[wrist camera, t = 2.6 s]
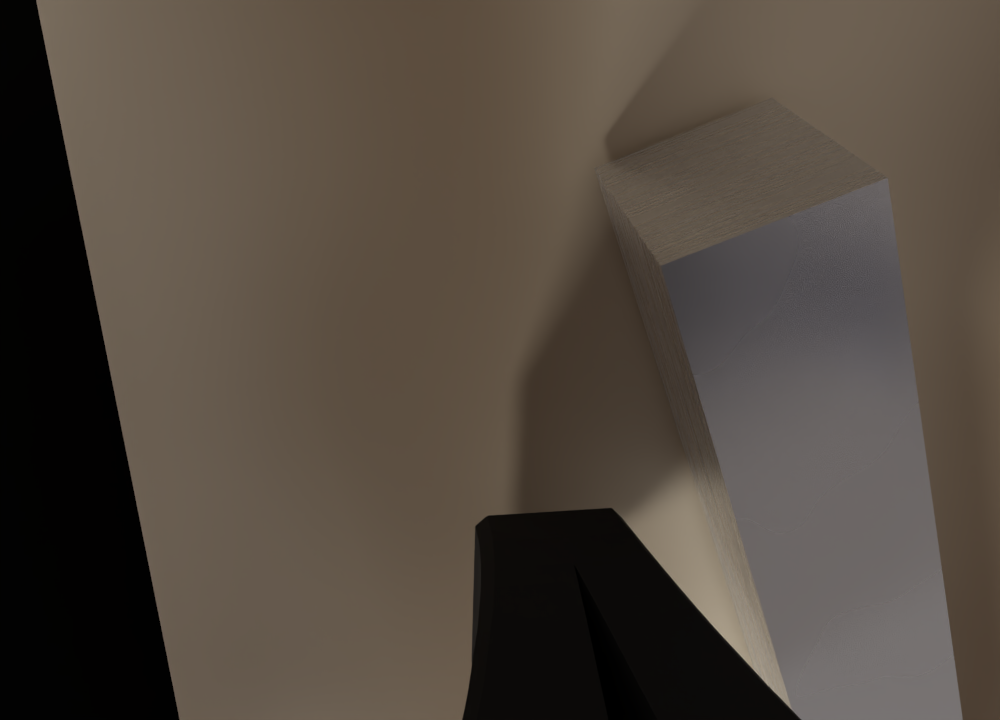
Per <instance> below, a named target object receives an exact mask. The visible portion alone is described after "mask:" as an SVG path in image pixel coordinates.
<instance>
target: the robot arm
mask: <svg viewBox="0 0 1000 720" xmlns="http://www.w3.org/2000/svg"><path fill="white" fill-rule="evenodd" d="M462 720H801V719H800V718H799V717H798V716H797V715H796V714H795V713H794V712H793V711H792V710H791V709H790V708H789V706H788V705H787V704H786V703H785V702H784V701H783V700H782V699H781V698H780V697H779V696H778V695H777V694H776V693H775V692H774V691H773V690H772V689H771V688H770V687H769V686H768V685H767V684H766V683H765V682H764V681H763V680H762V678H761V677H760V676H759V675H758V674H757V673H756V672H755V671H754V670H753V669H752V668H751V667H750V666H749V664H748V663H747V662H746V661H745V660H744V659H743V658H742V657H741V656H740V655H739V654H738V653H737V652H736V650H735V649H734V648H733V647H732V646H731V645H730V644H729V643H728V642H727V641H726V640H725V639H724V638H723V636H722V635H721V634H720V633H719V632H718V631H717V630H716V629H715V628H714V627H713V625H712V624H711V623H710V622H709V621H708V620H707V619H706V617H705V616H704V615H703V614H702V613H701V612H700V611H699V610H698V608H697V607H696V606H695V605H694V604H693V603H692V601H691V600H690V599H689V598H688V597H687V596H686V594H685V593H684V592H683V591H682V590H681V589H680V587H679V586H678V585H677V584H676V583H675V582H674V580H673V579H672V578H671V577H670V576H669V575H668V573H667V572H666V571H665V570H664V569H663V567H662V566H661V565H660V564H659V563H658V561H657V560H656V559H655V558H654V556H653V555H652V554H651V553H650V552H649V550H648V549H647V548H646V547H645V546H644V544H643V543H642V542H641V541H640V539H639V538H638V537H637V536H636V534H635V533H634V532H633V531H632V529H631V528H630V527H629V526H628V525H627V523H626V522H625V521H624V520H623V518H622V517H621V516H620V515H619V514H618V513H617V512H616V511H615V510H613V509H612V508H600V509H584V510H568V511H553V512H537V513H521V514H505V515H489V516H486V517H485V518H484V519H483V520H482V521H480V522H479V523H478V524H477V525H476V526H475V550H474V587H473V623H472V668H471V674H470V681H469V688H468V694H467V699H466V704H465V709H464V714H463V718H462Z"/></svg>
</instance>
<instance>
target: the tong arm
mask: <svg viewBox="0 0 1000 720" xmlns="http://www.w3.org/2000/svg"><path fill="white" fill-rule="evenodd" d="M594 169H595V172H596V175H597V178H598V181H599V185H600V188H601V191H602V194H603V197H604V200H605V203H606V206H607V210H608V213H609V216H610V219H611V222H612V225H613V228H614V232H615V235H616V238H617V241H618V244H619V247H620V250H621V254H622V257H623V260H624V263H625V266H626V269H627V272H628V276H629V279H630V282H631V285H632V288H633V291H634V294H635V297H636V301H637V304H638V307H639V310H640V313H641V316H642V319H643V323H644V326H645V329H646V332H647V335H648V338H649V341H650V345H651V348H652V351H653V354H654V357H655V360H656V363H657V367H658V370H659V373H660V376H661V379H662V382H663V385H664V388H665V392H666V395H667V398H668V401H669V404H670V407H671V410H672V414H673V417H674V420H675V423H676V426H677V429H678V432H679V436H680V439H681V442H682V445H683V448H684V451H685V454H686V458H687V461H688V464H689V467H690V470H691V473H692V476H693V479H694V483H695V486H696V489H697V492H698V495H699V498H700V501H701V505H702V508H703V511H704V514H705V517H706V520H707V523H708V527H709V530H710V533H711V536H712V539H713V542H714V545H715V549H716V552H717V555H718V558H719V561H720V564H721V567H722V570H723V574H724V577H725V580H726V583H727V586H728V589H729V592H730V596H731V599H732V602H733V605H734V608H735V611H736V614H737V618H738V621H739V624H740V627H741V630H742V633H743V636H744V640H745V643H746V646H747V649H748V652H749V655H750V658H751V661H752V665H753V668H754V671H755V672H756V673H757V674H758V675H759V676H760V677H761V678H762V680H763V681H764V682H765V683H766V684H767V685H768V686H769V687H770V688H771V689H772V690H773V691H774V692H775V693H776V694H777V695H778V696H779V697H780V698H781V699H782V700H783V701H784V702H785V703H786V704H787V705H788V706H789V708H790V709H791V710H792V711H793V712H794V713H795V714H796V715H797V716H798V717H799V718H800V719H801V720H963V718H962V711H961V704H960V696H959V689H958V682H957V675H956V668H955V660H954V653H953V646H952V639H951V631H950V624H949V617H948V610H947V603H946V595H945V588H944V581H943V574H942V566H941V559H940V552H939V545H938V538H937V530H936V523H935V516H934V509H933V501H932V494H931V487H930V480H929V473H928V465H927V458H926V451H925V444H924V436H923V429H922V422H921V415H920V408H919V400H918V393H917V386H916V379H915V371H914V364H913V357H912V350H911V343H910V335H909V328H908V321H907V314H906V306H905V299H904V292H903V285H902V278H901V270H900V263H899V256H898V249H897V241H896V234H895V227H894V220H893V213H892V205H891V198H890V191H889V184H888V178H887V177H886V176H884V175H883V174H881V173H880V172H879V171H877V170H876V169H874V168H873V167H871V166H870V165H868V164H867V163H865V162H864V161H863V160H861V159H860V158H858V157H857V156H855V155H854V154H852V153H851V152H850V151H848V150H847V149H845V148H844V147H842V146H841V145H839V144H838V143H837V142H835V141H834V140H832V139H831V138H829V137H828V136H826V135H825V134H823V133H822V132H821V131H819V130H818V129H816V128H815V127H813V126H812V125H810V124H809V123H808V122H806V121H805V120H803V119H802V118H800V117H799V116H797V115H796V114H795V113H793V112H792V111H790V110H789V109H787V108H786V107H784V106H783V105H781V104H780V103H779V102H777V101H776V100H774V99H773V98H770V99H768V100H765V101H762V102H760V103H757V104H755V105H752V106H750V107H747V108H745V109H742V110H740V111H737V112H735V113H732V114H730V115H727V116H725V117H722V118H719V119H717V120H714V121H712V122H709V123H707V124H704V125H702V126H699V127H697V128H694V129H692V130H689V131H687V132H684V133H682V134H679V135H676V136H674V137H671V138H669V139H666V140H664V141H661V142H659V143H656V144H654V145H651V146H649V147H646V148H644V149H641V150H639V151H636V152H633V153H631V154H628V155H626V156H623V157H621V158H618V159H616V160H613V161H611V162H608V163H606V164H603V165H601V166H598V167H596V168H594Z"/></svg>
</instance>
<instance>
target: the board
mask: <svg viewBox="0 0 1000 720" xmlns="http://www.w3.org/2000/svg"><path fill="white" fill-rule="evenodd" d="M36 2H37V7H38V12H39V17H40V22H41V27H42V32H43V37H44V42H45V47H46V52H47V57H48V62H49V67H50V72H51V77H52V82H53V87H54V92H55V97H56V102H57V107H58V112H59V117H60V122H61V127H62V132H63V137H64V142H65V147H66V152H67V157H68V162H69V167H70V172H71V177H72V182H73V187H74V192H75V197H76V203H77V208H78V213H79V218H80V223H81V228H82V233H83V238H84V243H85V248H86V253H87V258H88V263H89V268H90V273H91V278H92V283H93V288H94V293H95V298H96V303H97V308H98V313H99V318H100V323H101V328H102V333H103V338H104V343H105V348H106V353H107V358H108V363H109V368H110V373H111V378H112V383H113V388H114V393H115V398H116V403H117V408H118V413H119V418H120V423H121V428H122V433H123V438H124V443H125V448H126V453H127V458H128V463H129V468H130V473H131V478H132V483H133V488H134V493H135V498H136V503H137V508H138V513H139V518H140V523H141V528H142V533H143V539H144V544H145V549H146V554H147V559H148V564H149V569H150V574H151V579H152V584H153V589H154V594H155V599H156V604H157V609H158V614H159V619H160V624H161V629H162V634H163V639H164V644H165V649H166V654H167V659H168V664H169V669H170V674H171V679H172V684H173V689H174V694H175V699H176V704H177V709H178V714H179V719H180V720H462V718H463V714H464V709H465V704H466V699H467V694H468V688H469V681H470V674H471V668H472V623H473V587H474V550H475V526H476V525H477V524H478V523H479V522H480V521H482V520H483V519H484V518H485V517H486V516H489V515H505V514H521V513H537V512H553V511H568V510H584V509H600V508H612V509H613V510H615V511H616V512H617V513H618V514H619V515H620V516H621V517H622V518H623V520H624V521H625V522H626V523H627V525H628V526H629V527H630V528H631V529H632V531H633V532H634V533H635V534H636V536H637V537H638V538H639V539H640V541H641V542H642V543H643V544H644V546H645V547H646V548H647V549H648V550H649V552H650V553H651V554H652V555H653V556H654V558H655V559H656V560H657V561H658V563H659V564H660V565H661V566H662V567H663V569H664V570H665V571H666V572H667V573H668V575H669V576H670V577H671V578H672V579H673V580H674V582H675V583H676V584H677V585H678V586H679V587H680V589H681V590H682V591H683V592H684V593H685V594H686V596H687V597H688V598H689V599H690V600H691V601H692V603H693V604H694V605H695V606H696V607H697V608H698V610H699V611H700V612H701V613H702V614H703V615H704V616H705V617H706V619H707V620H708V621H709V622H710V623H711V624H712V625H713V627H714V628H715V629H716V630H717V631H718V632H719V633H720V634H721V635H722V636H723V638H724V639H725V640H726V641H727V642H728V643H729V644H730V645H731V646H732V647H733V648H734V649H735V650H736V652H737V653H738V654H739V655H740V656H741V657H742V658H743V659H744V660H745V661H746V662H747V663H748V664H749V666H750V667H751V668H752V669H753V670H754V668H753V665H752V661H751V658H750V655H749V652H748V649H747V646H746V643H745V640H744V636H743V633H742V630H741V627H740V624H739V621H738V618H737V614H736V611H735V608H734V605H733V602H732V599H731V596H730V592H729V589H728V586H727V583H726V580H725V577H724V574H723V570H722V567H721V564H720V561H719V558H718V555H717V552H716V549H715V545H714V542H713V539H712V536H711V533H710V530H709V527H708V523H707V520H706V517H705V514H704V511H703V508H702V505H701V501H700V498H699V495H698V492H697V489H696V486H695V483H694V479H693V476H692V473H691V470H690V467H689V464H688V461H687V458H686V454H685V451H684V448H683V445H682V442H681V439H680V436H679V432H678V429H677V426H676V423H675V420H674V417H673V414H672V410H671V407H670V404H669V401H668V398H667V395H666V392H665V388H664V385H663V382H662V379H661V376H660V373H659V370H658V367H657V363H656V360H655V357H654V354H653V351H652V348H651V345H650V341H649V338H648V335H647V332H646V329H645V326H644V323H643V319H642V316H641V313H640V310H639V307H638V304H637V301H636V297H635V294H634V291H633V288H632V285H631V282H630V279H629V276H628V272H627V269H626V266H625V263H624V260H623V257H622V254H621V250H620V247H619V244H618V241H617V238H616V235H615V232H614V228H613V225H612V222H611V219H610V216H609V213H608V210H607V206H606V203H605V200H604V197H603V194H602V191H601V188H600V185H599V181H598V178H597V175H596V172H595V169H594V168H596V167H598V166H601V165H603V164H606V163H608V162H611V161H613V160H616V159H618V158H621V157H623V156H626V155H628V154H631V153H633V152H636V151H639V150H641V149H644V148H646V147H649V146H651V145H654V144H656V143H659V142H661V141H664V140H666V139H669V138H671V137H674V136H676V135H679V134H682V133H684V132H687V131H689V130H692V129H694V128H697V127H699V126H702V125H704V124H707V123H709V122H712V121H714V120H717V119H719V118H722V117H725V116H727V115H730V114H732V113H735V112H737V111H740V110H742V109H745V108H747V107H750V106H752V105H755V104H757V103H760V102H762V101H765V100H768V99H770V98H773V99H774V100H776V101H777V102H779V103H780V104H781V105H783V106H784V107H786V108H787V109H789V110H790V111H792V112H793V113H795V114H796V115H797V116H799V117H800V118H802V119H803V120H805V121H806V122H808V123H809V124H810V125H812V126H813V127H815V128H816V129H818V130H819V131H821V132H822V133H823V134H825V135H826V136H828V137H829V138H831V139H832V140H834V141H835V142H837V143H838V144H839V145H841V146H842V147H844V148H845V149H847V150H848V151H850V152H851V153H852V154H854V155H855V156H857V157H858V158H860V159H861V160H863V161H864V162H865V163H867V164H868V165H870V166H871V167H873V168H874V169H876V170H877V171H879V172H880V173H881V174H883V175H884V176H886V177H887V178H888V184H889V191H890V198H891V205H892V213H893V220H894V227H895V234H896V241H897V249H898V256H899V263H900V270H901V278H902V285H903V292H904V299H905V306H906V314H907V321H908V328H909V335H910V343H911V350H912V357H913V364H914V371H915V379H916V386H917V393H918V400H919V408H920V415H921V422H922V429H923V436H924V444H925V451H926V458H927V465H928V473H929V480H930V487H931V494H932V501H933V509H934V516H935V523H936V530H937V538H938V545H939V552H940V559H941V566H942V574H943V581H944V588H945V595H946V603H947V610H948V617H949V624H950V631H951V639H952V646H953V653H954V660H955V668H956V675H957V682H958V689H959V696H960V704H961V711H962V718H963V720H1000V0H36Z"/></svg>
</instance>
